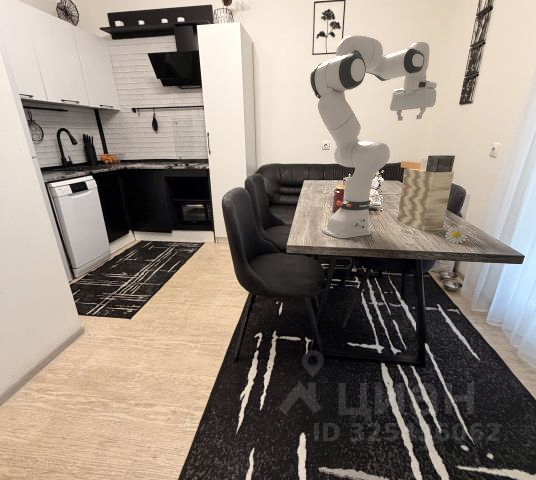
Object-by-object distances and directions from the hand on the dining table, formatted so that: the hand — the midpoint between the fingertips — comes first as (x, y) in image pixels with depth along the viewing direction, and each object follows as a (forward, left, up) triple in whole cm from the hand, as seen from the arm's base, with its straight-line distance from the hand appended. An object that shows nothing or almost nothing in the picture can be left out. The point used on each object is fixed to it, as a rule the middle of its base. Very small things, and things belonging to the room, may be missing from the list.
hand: (409, 119), depth 130 cm
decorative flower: (-8, -30, -48) cm, 58 cm away
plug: (+3, -7, -22) cm, 23 cm away
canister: (-9, +28, -48) cm, 56 cm away
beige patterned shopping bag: (+1, -12, -48) cm, 49 cm away
